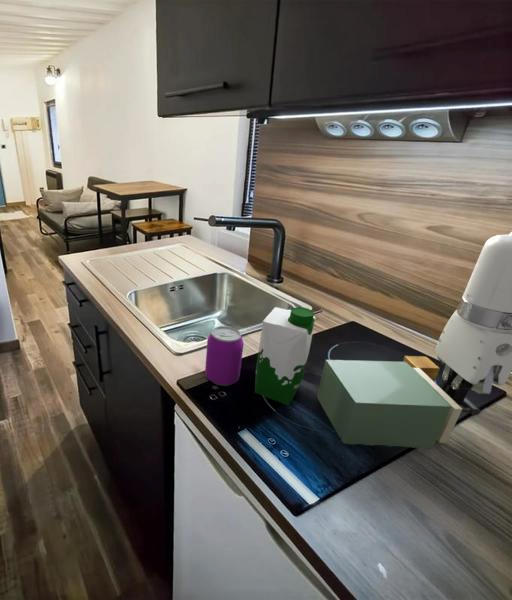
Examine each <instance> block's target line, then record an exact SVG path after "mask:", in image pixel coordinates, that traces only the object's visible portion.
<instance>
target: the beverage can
mask: <svg viewBox="0 0 512 600" xmlns="http://www.w3.org/2000/svg"><path fill="white" fill-rule="evenodd" d="M244 344H245V343H244V340H243V337H242V334H241V331H240V330H239V329H237V328H236V327H233V326H227V325H219V326H216V327H214V328H212V329H211V331H210V334H209V336H208V338H207V342H206V353H205V354H206V355H205V356H206V357H205V367H204V368H205V369H204V371H205V377H206V378H207V379H208V380H209V381H210V382H211V383H213V384H215V385H218V386H223V387H226V386H231V385H234V384H236V383H237V382H238V381H239V379H240V375H241V368H242V360H243V352H244Z"/></svg>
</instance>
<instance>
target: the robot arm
mask: <svg viewBox="0 0 512 600" xmlns="http://www.w3.org/2000/svg"><path fill="white" fill-rule="evenodd" d="M435 354H436V358H437V360H438V361H439V362H440V363H441V364H442V368H443V371H442V375H441V378H442V380H443V381H442V383H441V385H440V388H441V389H442V390H443V391H444V392H445V393H446V394H447V395H448V396H449V397H450V398H451V399H452V400H454V401H455V402H456V403H457V404H458V405H459V406H462V405H461V404H462V403H463V401H464V399H465V397H466V398H467V395H468V393H469V391H473V392H475V393H477V394H479V395H490V394H491V392H492V389H493V388H492V387H493V384H494V385H496V386H502V387H503V386H504V385H505V384H506V383H507V381H508V379H509V377H510V375H511V373H512V231H511V232H510V233H508V234H499V235H495V236H492V237H490V238H489V239H488V240H486V241H485V243H484V245H483V247H482V249H481V252H480V254H479V256H478V259H477V260H476V263H475V265H474V268H473V270H472V273H471V275H470V278H469V280H468V282H467V285H466V287H465V290H464V292H463V294H462V297H461V300H460V301H459V304H458V307H457V309H455V311H454V312H453V314H452V315H451V316H450V318H449V319H448V321H447V323H446V324H445V326H444V328H443V329H442V332H441V333H440V336H439V337H438V341H437V343H436V346H435Z"/></svg>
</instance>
